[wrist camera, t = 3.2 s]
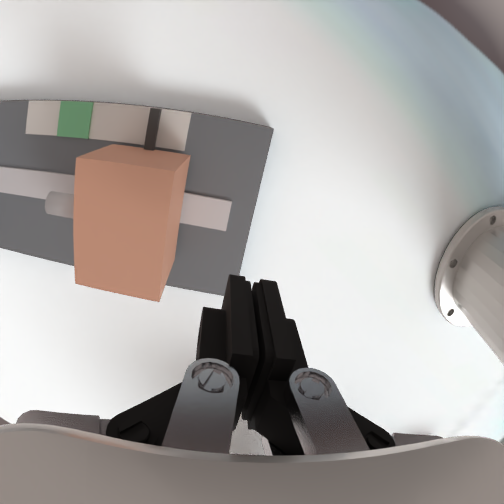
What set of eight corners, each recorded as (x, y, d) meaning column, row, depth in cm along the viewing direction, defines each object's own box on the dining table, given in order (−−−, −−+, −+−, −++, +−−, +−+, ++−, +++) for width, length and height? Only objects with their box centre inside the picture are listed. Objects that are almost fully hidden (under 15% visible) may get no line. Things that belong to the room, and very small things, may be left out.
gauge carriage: (198, 114, 17) (184, 116, 13) (174, 259, 21) (159, 301, 17) (77, 101, 16) (33, 104, 12) (68, 238, 20) (33, 272, 15)
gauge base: (271, 127, 20) (297, 142, 11) (234, 286, 25) (233, 379, 16) (-19, 102, 16) (-101, 118, 8) (-18, 233, 21) (-82, 284, 13)
